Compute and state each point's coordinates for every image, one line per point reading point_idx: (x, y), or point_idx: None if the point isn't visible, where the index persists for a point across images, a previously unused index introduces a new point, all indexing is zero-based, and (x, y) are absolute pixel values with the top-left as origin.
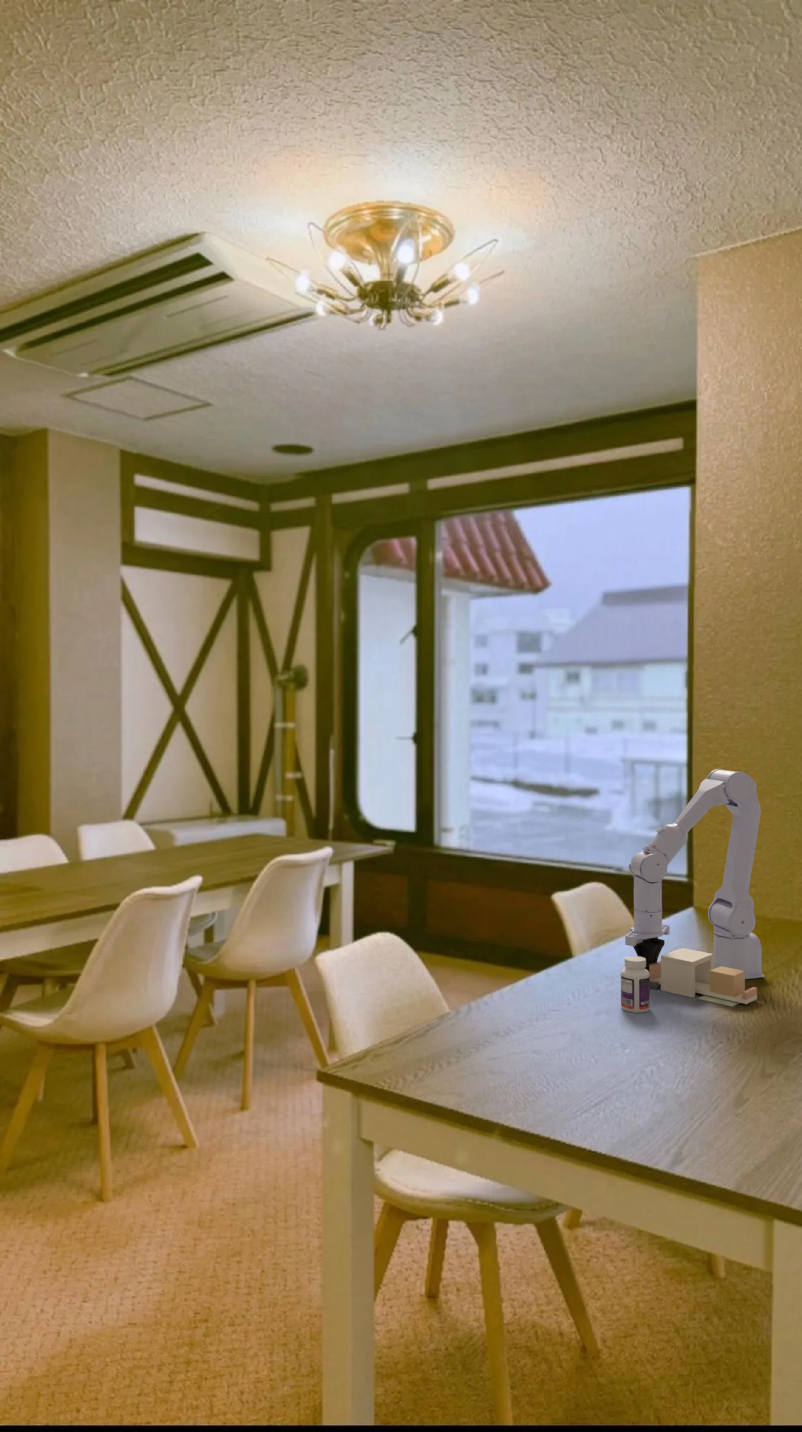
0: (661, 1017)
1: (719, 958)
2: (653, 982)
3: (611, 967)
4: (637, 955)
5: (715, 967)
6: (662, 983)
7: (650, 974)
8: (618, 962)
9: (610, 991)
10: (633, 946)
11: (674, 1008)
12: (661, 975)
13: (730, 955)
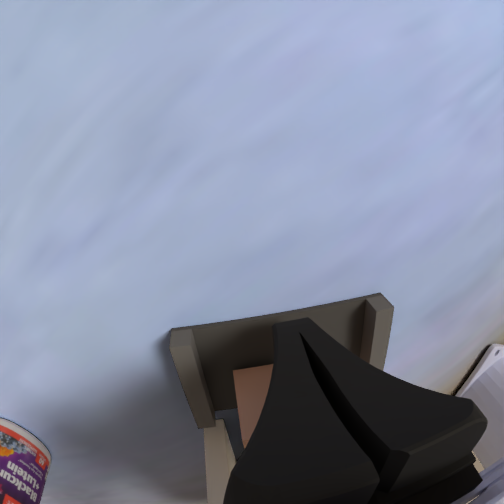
0: (52, 480)
1: (485, 432)
2: (198, 418)
3: (349, 20)
4: (266, 399)
5: (481, 396)
6: (206, 447)
7: (237, 402)
8: (441, 15)
9: (12, 321)
10: (240, 464)
11: (114, 484)
12: (206, 472)
13: (480, 460)
